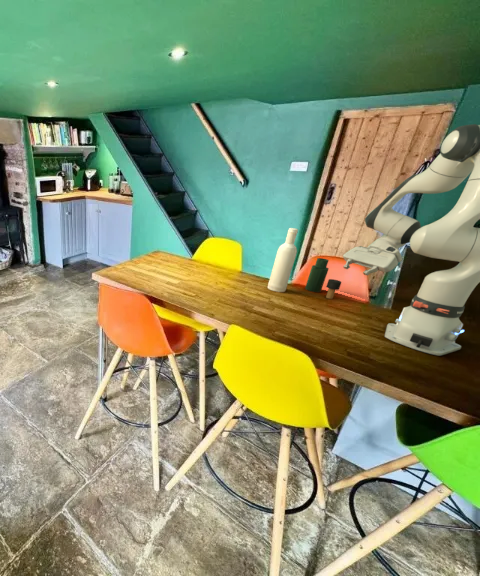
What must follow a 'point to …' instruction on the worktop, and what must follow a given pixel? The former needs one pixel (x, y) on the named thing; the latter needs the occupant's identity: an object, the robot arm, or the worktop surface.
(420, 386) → the worktop surface
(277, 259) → the bottle
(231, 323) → the worktop surface
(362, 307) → the worktop surface
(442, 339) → the robot arm
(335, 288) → the stopper
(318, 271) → the bottle
